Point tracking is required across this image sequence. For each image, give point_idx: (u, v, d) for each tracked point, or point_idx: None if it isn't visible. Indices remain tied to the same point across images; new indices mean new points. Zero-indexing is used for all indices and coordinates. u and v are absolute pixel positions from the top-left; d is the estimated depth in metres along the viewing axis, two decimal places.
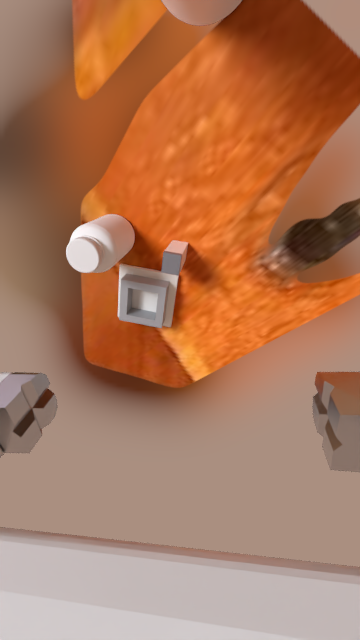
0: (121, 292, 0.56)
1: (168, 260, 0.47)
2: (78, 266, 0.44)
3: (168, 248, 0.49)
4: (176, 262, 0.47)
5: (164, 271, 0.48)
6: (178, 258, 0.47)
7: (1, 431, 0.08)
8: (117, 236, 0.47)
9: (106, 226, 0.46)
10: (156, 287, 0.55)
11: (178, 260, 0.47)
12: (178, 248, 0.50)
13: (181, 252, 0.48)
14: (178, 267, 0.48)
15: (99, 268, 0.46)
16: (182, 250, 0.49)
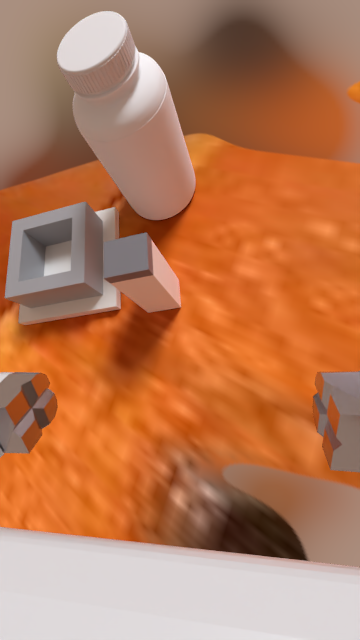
0: (62, 209, 0.30)
1: (131, 247, 0.21)
2: (67, 43, 0.19)
3: (158, 253, 0.23)
4: (131, 264, 0.21)
5: (106, 247, 0.22)
6: (141, 265, 0.20)
7: (1, 431, 0.08)
8: (156, 145, 0.23)
9: (169, 116, 0.23)
10: (81, 264, 0.27)
11: (135, 267, 0.20)
12: (164, 276, 0.24)
13: (156, 275, 0.22)
14: (121, 272, 0.21)
15: (80, 109, 0.22)
16: (161, 282, 0.23)
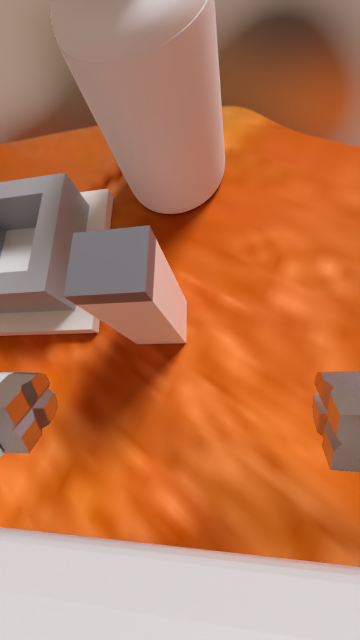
0: (30, 180, 0.21)
1: (120, 248, 0.12)
2: None
3: (165, 263, 0.14)
4: (115, 278, 0.11)
5: (77, 243, 0.12)
6: (133, 282, 0.11)
7: (1, 431, 0.08)
8: (181, 87, 0.14)
9: (209, 43, 0.14)
10: (45, 263, 0.18)
11: (123, 285, 0.11)
12: (169, 300, 0.15)
13: (157, 301, 0.13)
14: (95, 289, 0.11)
15: (60, 1, 0.12)
16: (164, 310, 0.14)
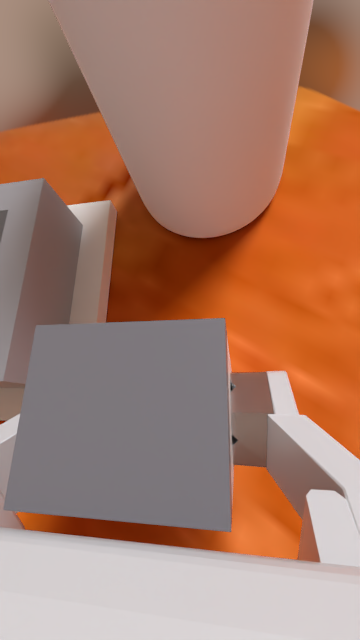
0: None
1: (151, 378, 0.05)
2: None
3: (229, 363, 0.07)
4: (140, 471, 0.04)
5: (44, 353, 0.05)
6: (194, 493, 0.04)
7: None
8: (263, 10, 0.07)
9: None
10: (6, 329, 0.11)
11: (163, 497, 0.04)
12: None
13: (232, 481, 0.06)
14: (88, 501, 0.04)
15: None
16: None
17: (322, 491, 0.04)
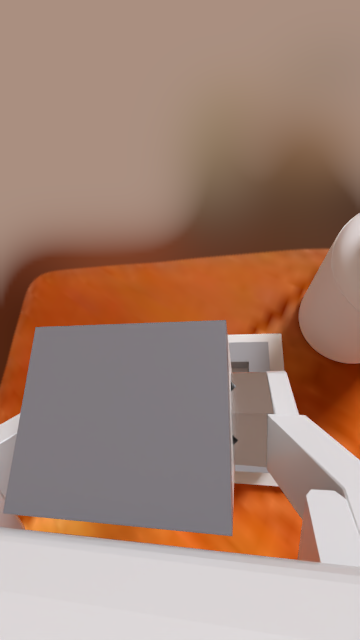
0: (231, 345, 0.22)
1: (151, 380, 0.05)
2: None
3: None
4: (141, 474, 0.04)
5: (44, 355, 0.05)
6: (194, 496, 0.04)
7: None
8: None
9: None
10: None
11: (164, 500, 0.04)
12: None
13: None
14: (88, 504, 0.04)
15: None
16: (233, 469, 0.07)
17: (322, 491, 0.04)
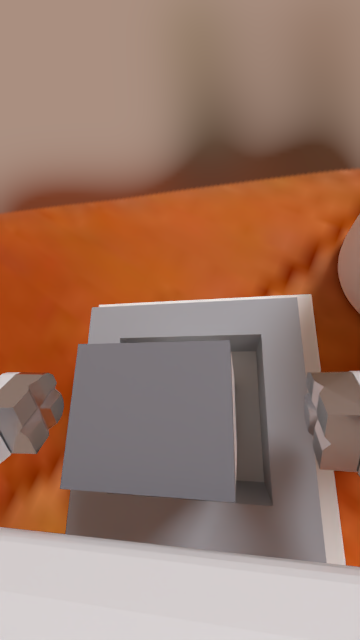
0: (228, 305, 0.12)
1: (172, 387, 0.06)
2: None
3: None
4: (166, 458, 0.06)
5: (86, 366, 0.06)
6: (207, 474, 0.05)
7: (8, 431, 0.08)
8: None
9: None
10: (309, 494, 0.10)
11: (184, 477, 0.05)
12: None
13: (235, 468, 0.07)
14: (126, 481, 0.06)
15: None
16: None
17: None
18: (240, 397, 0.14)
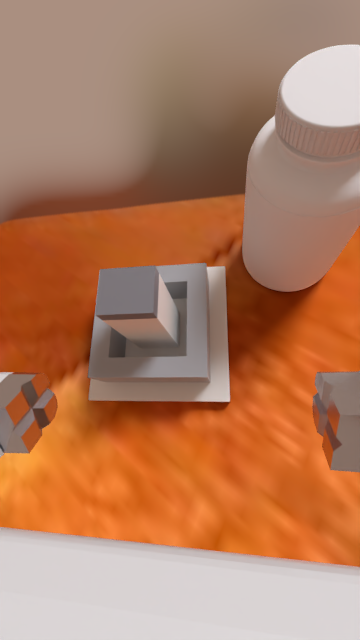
0: (172, 267, 0.23)
1: (134, 281, 0.17)
2: (299, 79, 0.13)
3: (164, 289, 0.20)
4: (131, 303, 0.17)
5: (103, 276, 0.18)
6: (144, 306, 0.16)
7: (1, 431, 0.08)
8: (354, 224, 0.17)
9: None
10: (202, 350, 0.21)
11: (137, 307, 0.17)
12: (167, 316, 0.20)
13: (160, 317, 0.18)
14: (118, 310, 0.17)
15: (276, 167, 0.15)
16: (164, 323, 0.19)
17: None
18: (182, 322, 0.25)
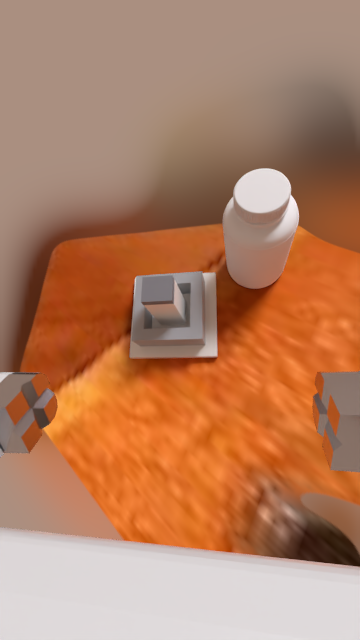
0: (181, 274, 0.38)
1: (161, 283, 0.32)
2: (243, 186, 0.28)
3: (177, 287, 0.34)
4: (160, 295, 0.31)
5: (144, 281, 0.32)
6: (167, 297, 0.31)
7: (1, 431, 0.08)
8: (281, 251, 0.31)
9: (294, 233, 0.31)
10: (199, 323, 0.35)
11: (163, 297, 0.31)
12: (179, 303, 0.35)
13: (175, 303, 0.32)
14: (153, 299, 0.31)
15: (235, 224, 0.30)
16: (177, 307, 0.34)
17: None
18: (188, 308, 0.40)
